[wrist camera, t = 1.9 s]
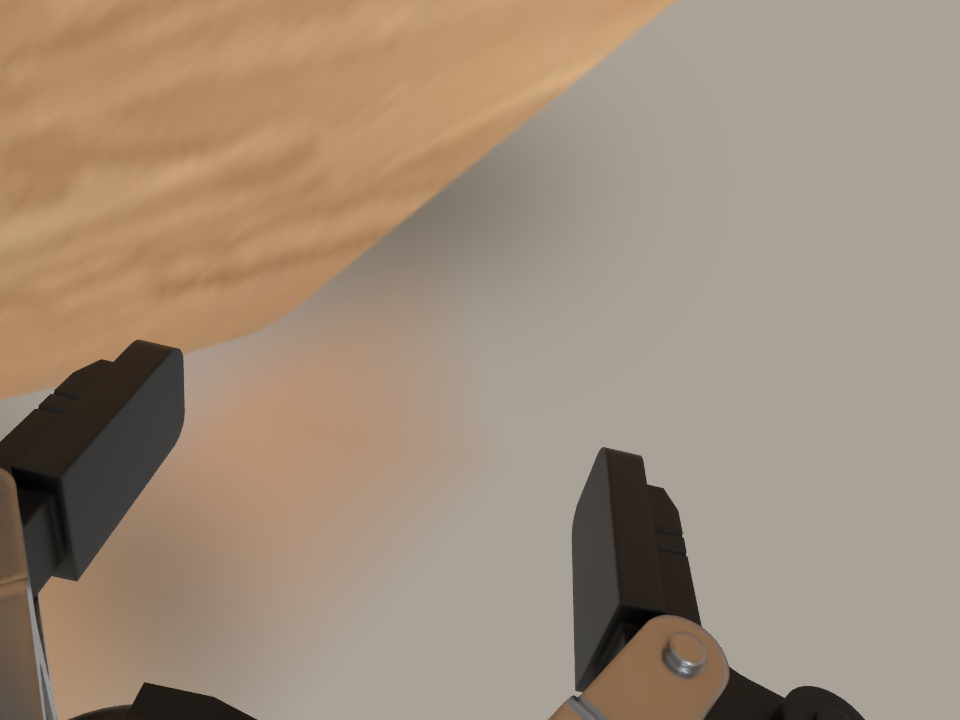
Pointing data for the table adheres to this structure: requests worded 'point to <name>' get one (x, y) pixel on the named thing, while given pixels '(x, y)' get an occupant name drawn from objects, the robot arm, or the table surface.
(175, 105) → the table surface
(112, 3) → the table surface
